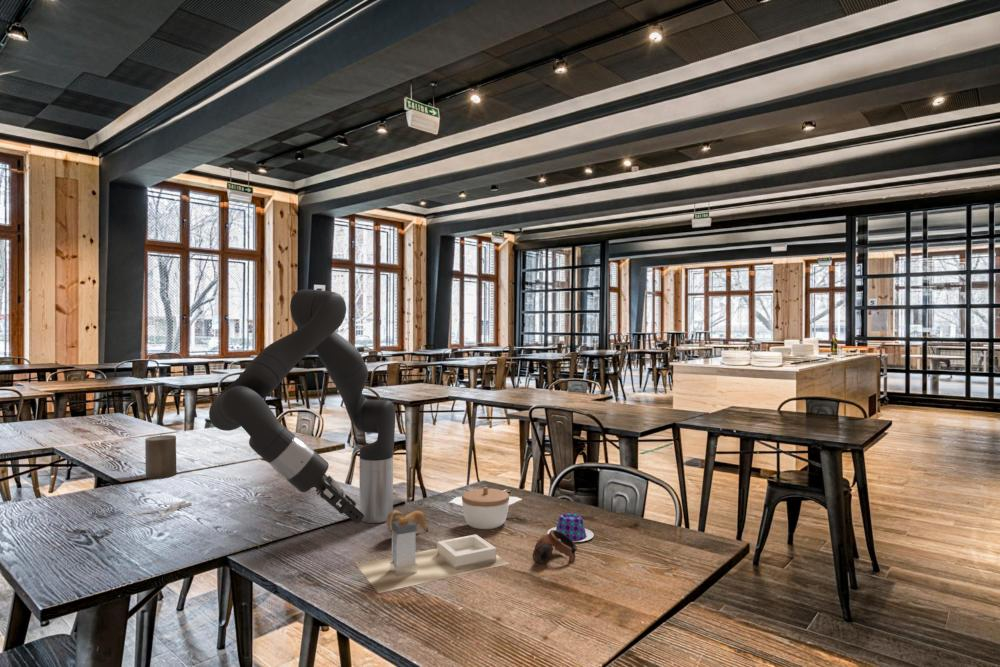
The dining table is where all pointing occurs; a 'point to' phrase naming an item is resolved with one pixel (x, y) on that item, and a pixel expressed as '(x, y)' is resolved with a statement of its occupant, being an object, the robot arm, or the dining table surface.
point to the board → (427, 571)
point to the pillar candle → (160, 456)
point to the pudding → (572, 528)
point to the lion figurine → (413, 516)
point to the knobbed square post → (403, 547)
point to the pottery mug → (547, 541)
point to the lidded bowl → (485, 507)
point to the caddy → (466, 551)
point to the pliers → (170, 510)
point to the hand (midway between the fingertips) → (356, 513)
